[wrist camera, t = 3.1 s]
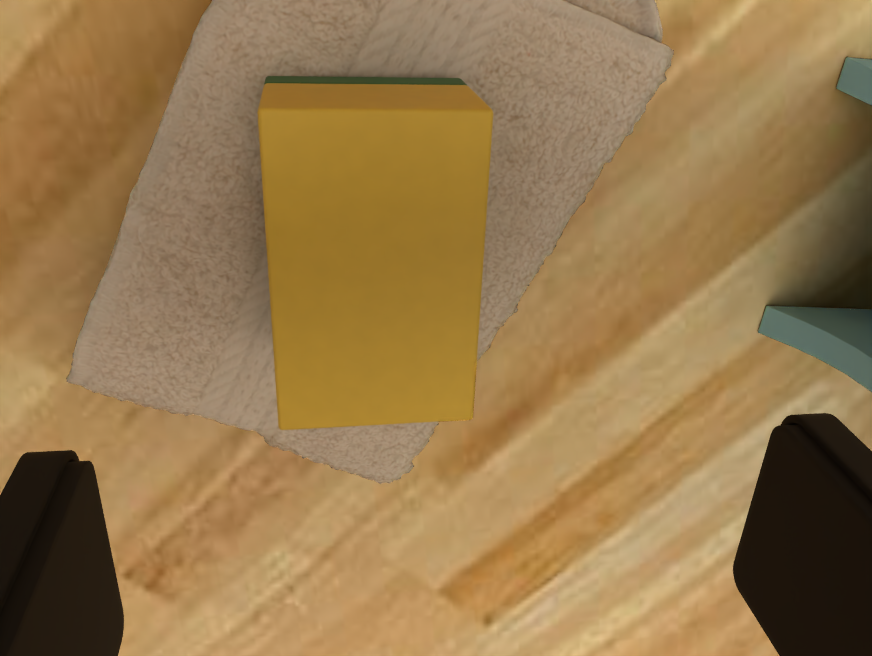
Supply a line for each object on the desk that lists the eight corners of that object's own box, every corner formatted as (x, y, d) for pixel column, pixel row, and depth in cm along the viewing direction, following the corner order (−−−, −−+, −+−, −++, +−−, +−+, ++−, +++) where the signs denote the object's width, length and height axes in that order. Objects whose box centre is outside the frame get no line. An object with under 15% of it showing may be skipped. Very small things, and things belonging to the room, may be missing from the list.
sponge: (282, 355, 23) (278, 432, 20) (265, 75, 20) (256, 108, 16) (448, 348, 24) (473, 421, 20) (461, 77, 20) (494, 109, 17)
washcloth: (669, 13, 23) (717, 25, 21) (397, 466, 30) (406, 520, 27) (300, -225, 19) (299, -248, 17) (74, 355, 26) (46, 406, 23)
